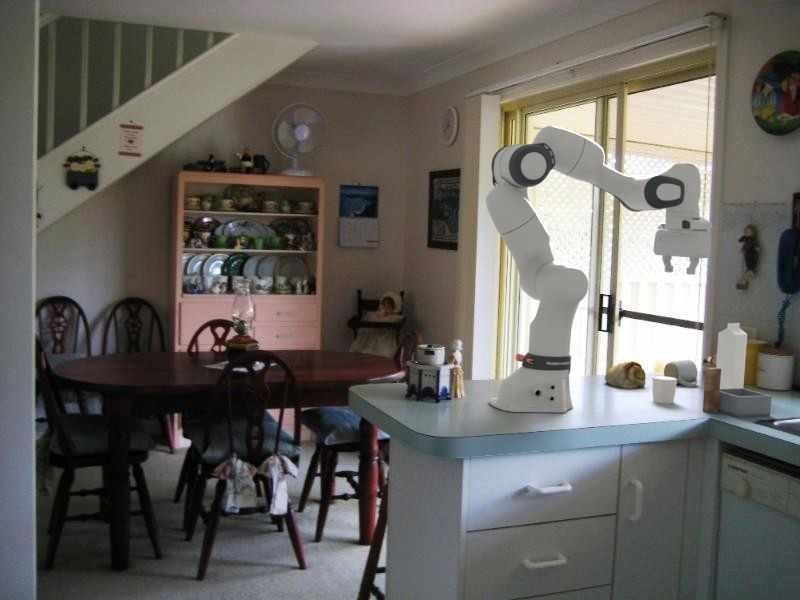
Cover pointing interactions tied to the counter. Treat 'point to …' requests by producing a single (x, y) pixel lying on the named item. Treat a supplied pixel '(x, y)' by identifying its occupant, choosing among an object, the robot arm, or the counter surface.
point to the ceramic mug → (682, 372)
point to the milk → (731, 356)
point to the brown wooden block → (711, 389)
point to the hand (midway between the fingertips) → (679, 273)
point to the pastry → (626, 375)
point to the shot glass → (664, 389)
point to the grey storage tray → (744, 402)
